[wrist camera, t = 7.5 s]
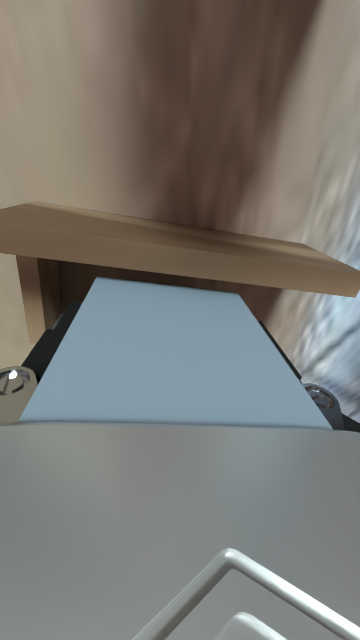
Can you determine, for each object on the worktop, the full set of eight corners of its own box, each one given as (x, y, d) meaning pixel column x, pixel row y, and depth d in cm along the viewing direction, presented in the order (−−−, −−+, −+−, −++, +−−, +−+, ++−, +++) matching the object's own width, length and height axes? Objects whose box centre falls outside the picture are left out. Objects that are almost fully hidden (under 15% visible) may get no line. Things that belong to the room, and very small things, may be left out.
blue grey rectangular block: (218, 356, 15) (273, 512, 8) (97, 346, 14) (41, 519, 7) (237, 292, 13) (333, 429, 6) (96, 276, 12) (17, 421, 5)
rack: (254, 365, 22) (285, 423, 17) (51, 350, 20) (14, 414, 14) (303, 243, 17) (368, 274, 12) (34, 201, 14) (-34, 217, 9)
